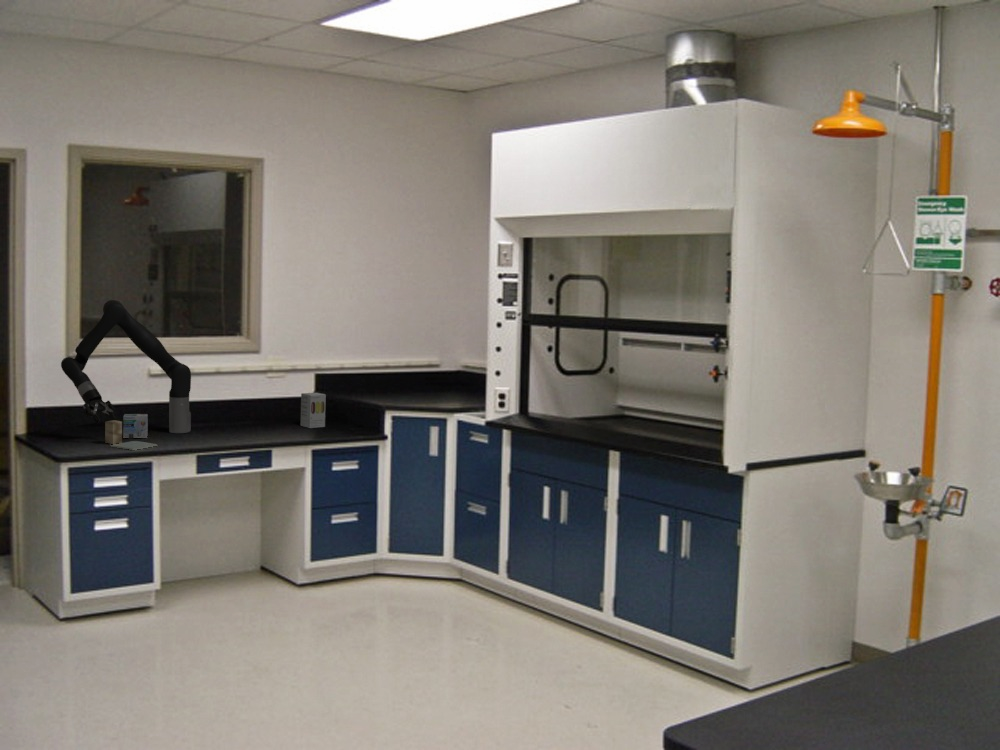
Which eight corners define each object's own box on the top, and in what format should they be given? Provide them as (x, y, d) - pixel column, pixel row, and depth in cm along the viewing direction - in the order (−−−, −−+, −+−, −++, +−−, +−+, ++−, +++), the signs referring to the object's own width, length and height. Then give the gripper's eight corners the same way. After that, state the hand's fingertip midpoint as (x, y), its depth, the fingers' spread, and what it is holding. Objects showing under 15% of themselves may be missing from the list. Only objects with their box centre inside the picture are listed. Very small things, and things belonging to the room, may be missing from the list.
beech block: (114, 442, 487) (114, 420, 486) (121, 443, 485) (121, 421, 484) (105, 443, 483) (105, 421, 482) (113, 444, 481) (112, 422, 480)
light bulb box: (122, 439, 495) (122, 416, 494) (123, 436, 502) (123, 413, 500) (147, 439, 498) (147, 415, 497) (147, 436, 505) (147, 413, 503)
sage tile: (135, 442, 487) (135, 440, 487) (157, 446, 480) (157, 444, 480) (110, 447, 475) (110, 444, 475) (132, 451, 468) (132, 448, 468)
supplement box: (309, 428, 543) (310, 395, 541) (299, 425, 550) (300, 393, 548) (325, 426, 550) (326, 394, 548) (315, 424, 557) (316, 392, 555)
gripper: (80, 389, 482) (97, 417, 477) (106, 387, 494) (123, 414, 490) (72, 400, 485) (89, 428, 481) (98, 397, 497) (115, 424, 493)
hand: (106, 421), depth 485 cm, fingers open, 8 cm apart
